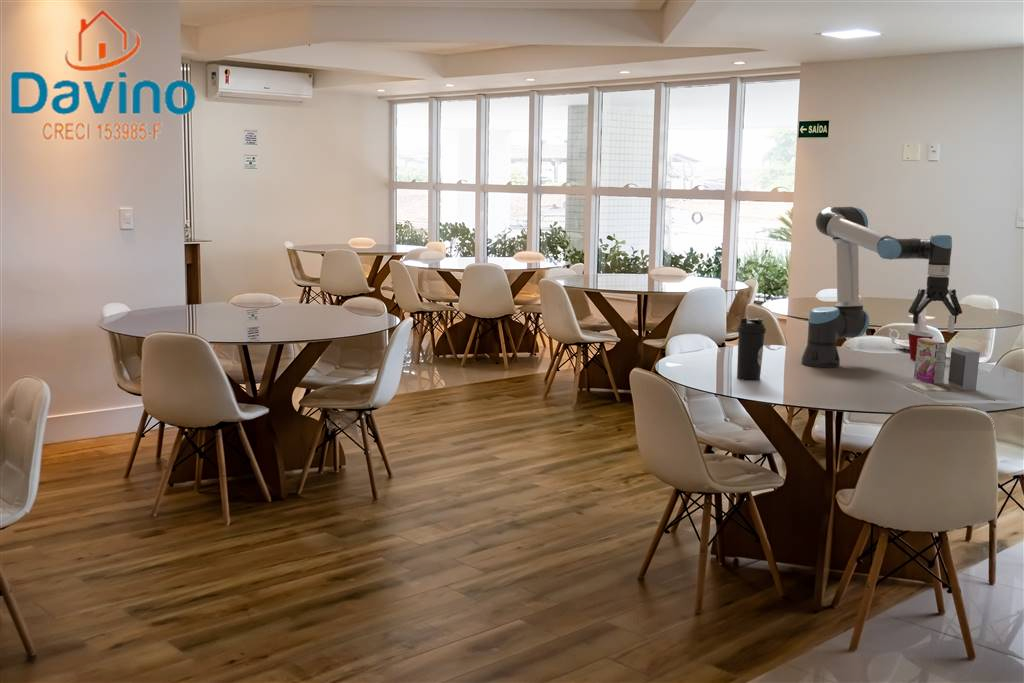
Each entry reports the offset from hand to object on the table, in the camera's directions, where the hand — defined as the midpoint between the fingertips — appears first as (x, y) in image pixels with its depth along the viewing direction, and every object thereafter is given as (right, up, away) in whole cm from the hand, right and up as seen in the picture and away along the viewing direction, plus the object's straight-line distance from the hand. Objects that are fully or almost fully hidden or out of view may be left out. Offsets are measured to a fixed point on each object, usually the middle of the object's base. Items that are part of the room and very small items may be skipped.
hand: (933, 332), depth 375 cm
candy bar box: (-1, -19, +2) cm, 19 cm away
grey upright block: (+6, -20, -11) cm, 24 cm away
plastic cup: (+16, -11, +53) cm, 56 cm away
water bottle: (-70, -18, +1) cm, 72 cm away
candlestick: (+24, -8, +79) cm, 83 cm away
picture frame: (-2, -21, -11) cm, 24 cm away
